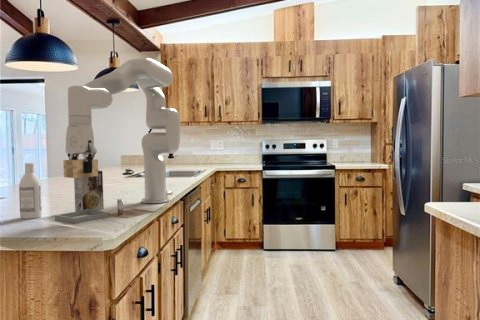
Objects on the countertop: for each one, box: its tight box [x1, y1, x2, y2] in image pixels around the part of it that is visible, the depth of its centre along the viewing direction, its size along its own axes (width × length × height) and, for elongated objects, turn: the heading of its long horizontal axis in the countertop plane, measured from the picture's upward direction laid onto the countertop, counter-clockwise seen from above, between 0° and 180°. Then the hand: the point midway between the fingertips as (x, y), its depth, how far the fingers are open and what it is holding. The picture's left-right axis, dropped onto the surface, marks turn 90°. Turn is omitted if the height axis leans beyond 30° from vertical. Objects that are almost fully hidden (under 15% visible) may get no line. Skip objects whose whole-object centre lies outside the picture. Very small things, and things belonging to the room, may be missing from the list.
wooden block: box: [63, 158, 99, 179], centre depth 135 cm, size 9×6×6 cm
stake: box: [116, 198, 124, 215], centre depth 142 cm, size 2×2×6 cm
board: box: [109, 208, 157, 219], centre depth 145 cm, size 15×12×1 cm
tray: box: [54, 209, 110, 224], centre depth 136 cm, size 14×12×2 cm
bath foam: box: [18, 162, 42, 220], centre depth 140 cm, size 7×7×20 cm
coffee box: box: [73, 169, 105, 212], centre depth 152 cm, size 9×6×16 cm
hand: (81, 172), depth 135 cm, fingers closed on wooden block, 6 cm apart
